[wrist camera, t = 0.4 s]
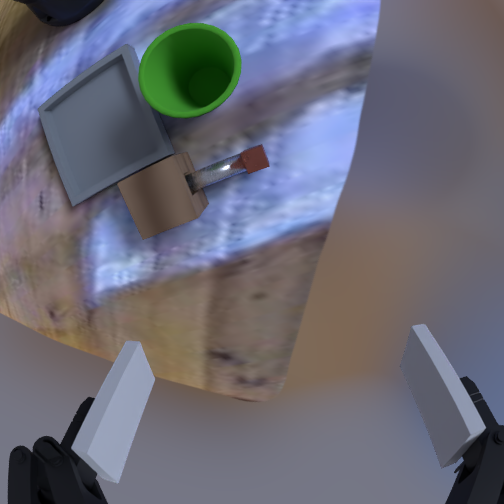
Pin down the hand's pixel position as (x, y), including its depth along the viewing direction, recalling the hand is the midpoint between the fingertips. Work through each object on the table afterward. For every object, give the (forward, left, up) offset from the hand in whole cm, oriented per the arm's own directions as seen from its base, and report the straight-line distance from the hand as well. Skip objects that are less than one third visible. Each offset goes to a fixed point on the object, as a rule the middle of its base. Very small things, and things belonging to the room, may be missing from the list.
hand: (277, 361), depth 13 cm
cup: (-17, -1, -25) cm, 31 cm away
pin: (-7, -3, -24) cm, 25 cm away
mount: (-7, -10, -25) cm, 28 cm away
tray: (-19, -16, -25) cm, 36 cm away
